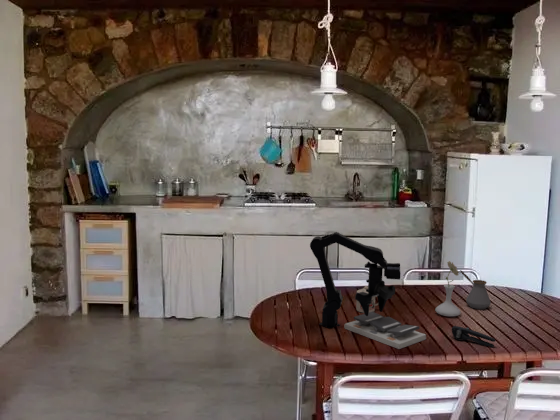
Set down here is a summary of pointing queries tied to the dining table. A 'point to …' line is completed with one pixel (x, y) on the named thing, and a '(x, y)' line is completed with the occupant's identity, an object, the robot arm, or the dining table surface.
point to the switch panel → (385, 335)
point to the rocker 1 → (368, 317)
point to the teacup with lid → (371, 306)
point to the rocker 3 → (402, 329)
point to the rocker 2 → (385, 323)
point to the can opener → (463, 333)
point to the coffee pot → (477, 294)
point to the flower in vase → (449, 297)
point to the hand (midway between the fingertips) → (373, 313)
